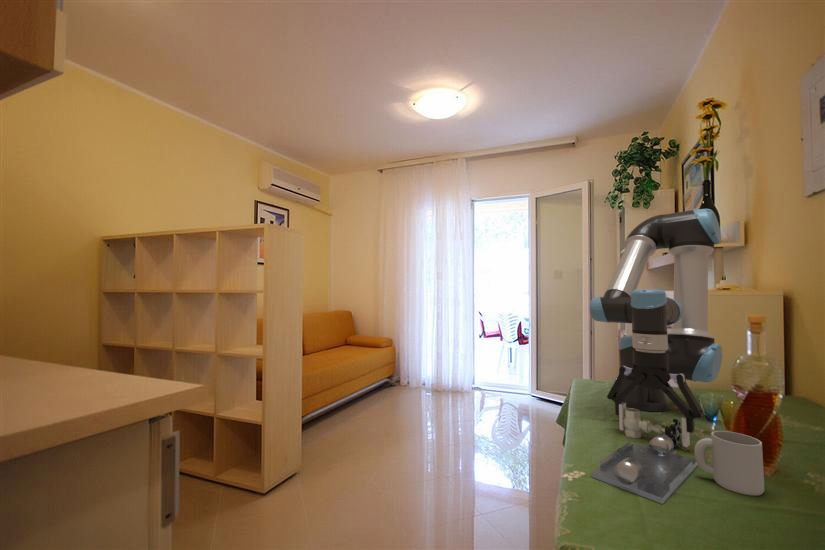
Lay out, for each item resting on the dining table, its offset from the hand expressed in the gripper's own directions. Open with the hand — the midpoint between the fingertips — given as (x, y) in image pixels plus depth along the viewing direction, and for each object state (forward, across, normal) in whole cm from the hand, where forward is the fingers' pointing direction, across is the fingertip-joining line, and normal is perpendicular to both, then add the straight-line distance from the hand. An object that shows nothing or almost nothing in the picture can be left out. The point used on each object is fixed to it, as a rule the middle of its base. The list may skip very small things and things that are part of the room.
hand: (652, 436), depth 89 cm
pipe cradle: (+1, +4, -19) cm, 20 cm away
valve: (+1, -1, 0) cm, 2 cm away
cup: (+1, +16, -12) cm, 21 cm away
